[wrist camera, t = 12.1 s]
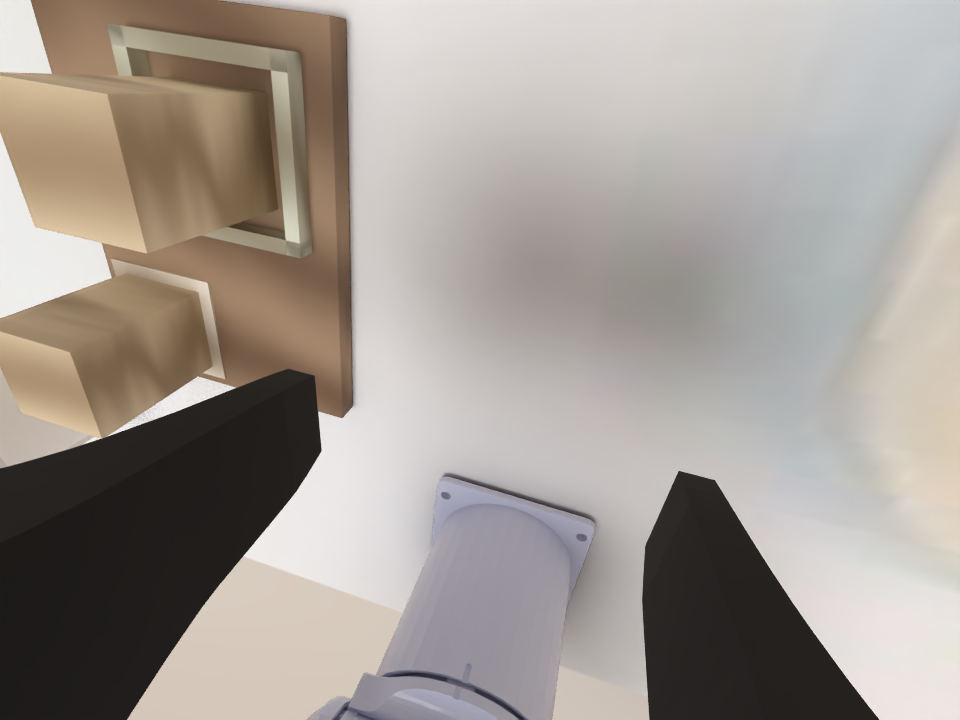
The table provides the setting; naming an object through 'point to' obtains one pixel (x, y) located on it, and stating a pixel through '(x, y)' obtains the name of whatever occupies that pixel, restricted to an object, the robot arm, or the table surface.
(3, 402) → the eye dropper bottle
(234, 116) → the maple peg
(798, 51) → the table surface
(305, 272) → the board
